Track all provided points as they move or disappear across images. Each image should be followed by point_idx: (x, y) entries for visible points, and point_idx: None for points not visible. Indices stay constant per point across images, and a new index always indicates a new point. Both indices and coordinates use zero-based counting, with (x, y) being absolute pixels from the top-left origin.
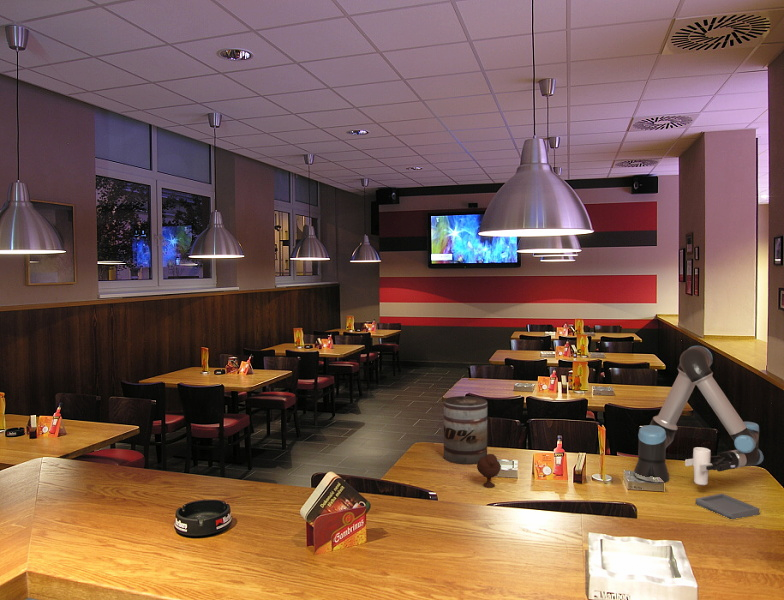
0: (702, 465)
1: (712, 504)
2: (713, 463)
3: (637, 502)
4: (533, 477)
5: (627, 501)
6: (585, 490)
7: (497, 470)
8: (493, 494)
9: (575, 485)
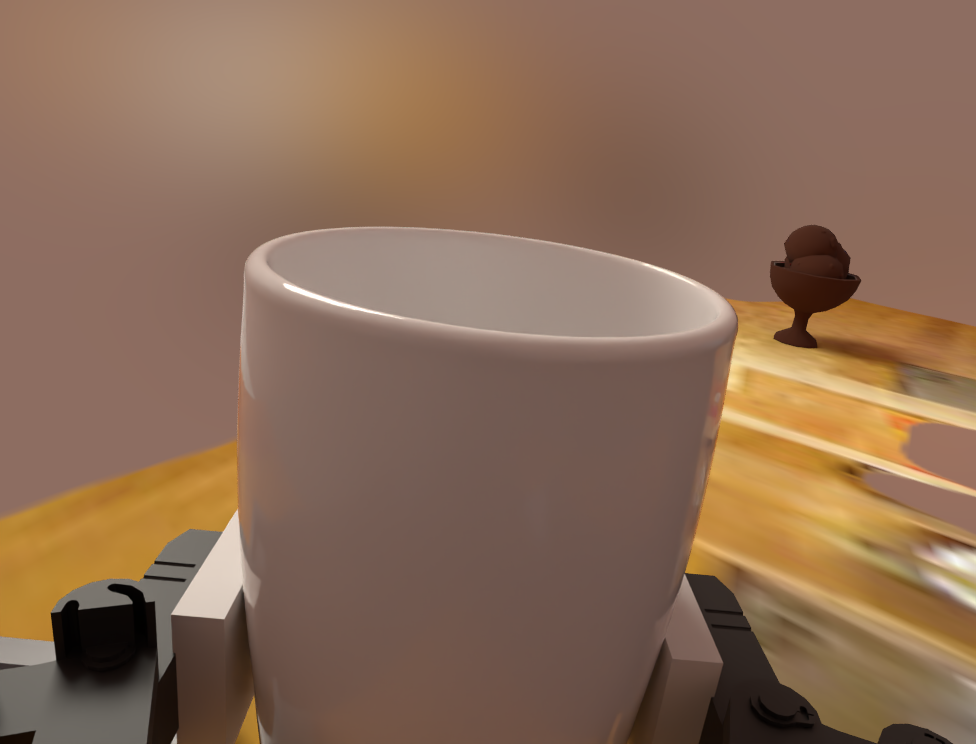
0: None
1: (3, 661)
2: (119, 596)
3: None
4: (916, 416)
5: None
6: (731, 441)
7: (779, 275)
8: None
9: (810, 449)
